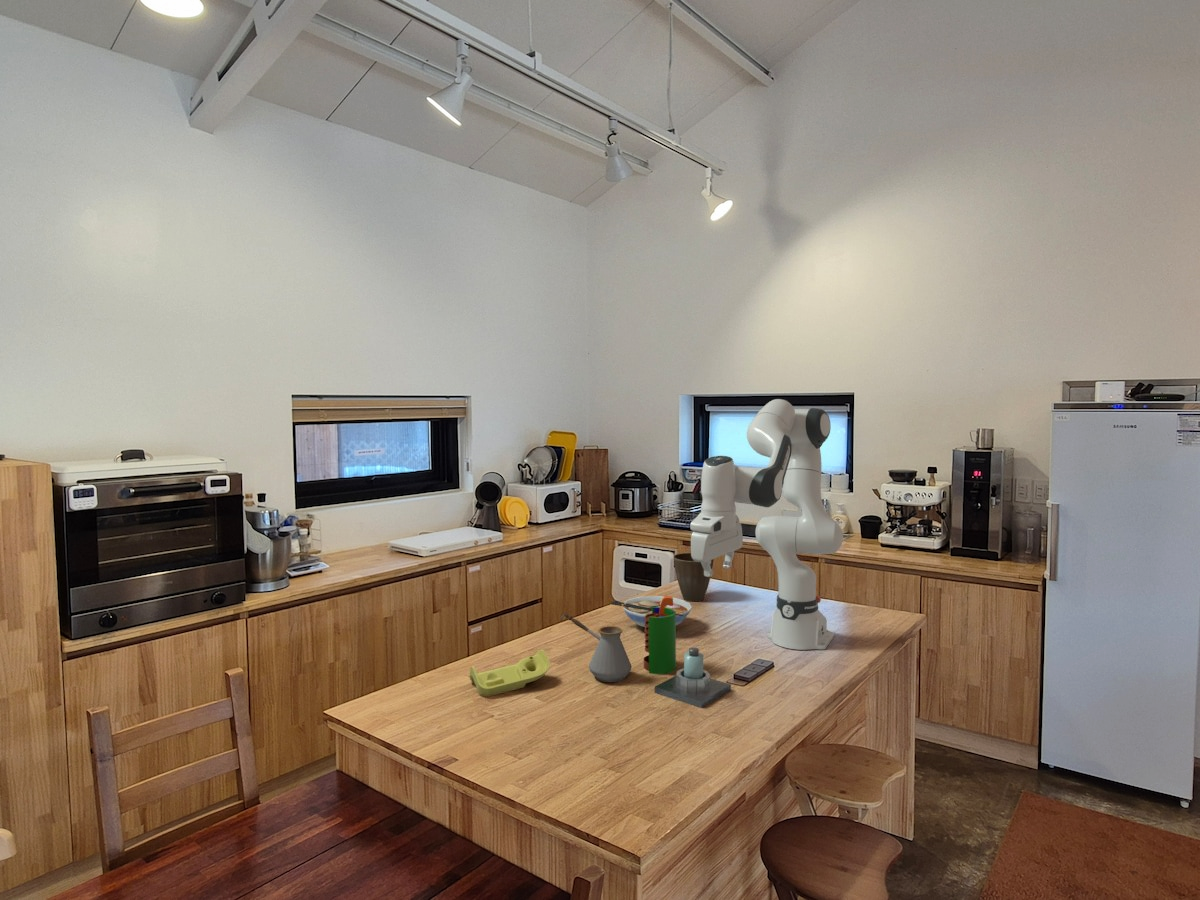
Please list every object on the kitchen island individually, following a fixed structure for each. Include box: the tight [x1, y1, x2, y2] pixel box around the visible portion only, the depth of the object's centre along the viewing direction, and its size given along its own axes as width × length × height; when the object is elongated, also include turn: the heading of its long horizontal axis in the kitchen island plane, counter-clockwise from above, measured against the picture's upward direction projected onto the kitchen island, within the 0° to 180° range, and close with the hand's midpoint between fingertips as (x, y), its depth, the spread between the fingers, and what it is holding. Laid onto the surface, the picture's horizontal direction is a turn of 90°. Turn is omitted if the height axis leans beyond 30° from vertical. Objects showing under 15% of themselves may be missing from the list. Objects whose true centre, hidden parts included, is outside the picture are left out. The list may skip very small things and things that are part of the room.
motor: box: [643, 595, 677, 675], centre depth 198 cm, size 10×9×20 cm
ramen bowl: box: [611, 595, 693, 628], centre depth 234 cm, size 25×23×8 cm
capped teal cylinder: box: [683, 647, 704, 679], centre depth 182 cm, size 5×5×10 cm
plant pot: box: [673, 552, 715, 603], centre depth 267 cm, size 15×15×16 cm
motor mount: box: [654, 668, 732, 709], centre depth 183 cm, size 14×14×4 cm
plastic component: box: [469, 649, 550, 697], centre depth 187 cm, size 20×7×10 cm
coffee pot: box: [560, 612, 632, 683], centre depth 194 cm, size 21×12×15 cm, turn 58°
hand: (718, 571), depth 186 cm, fingers open, 8 cm apart
